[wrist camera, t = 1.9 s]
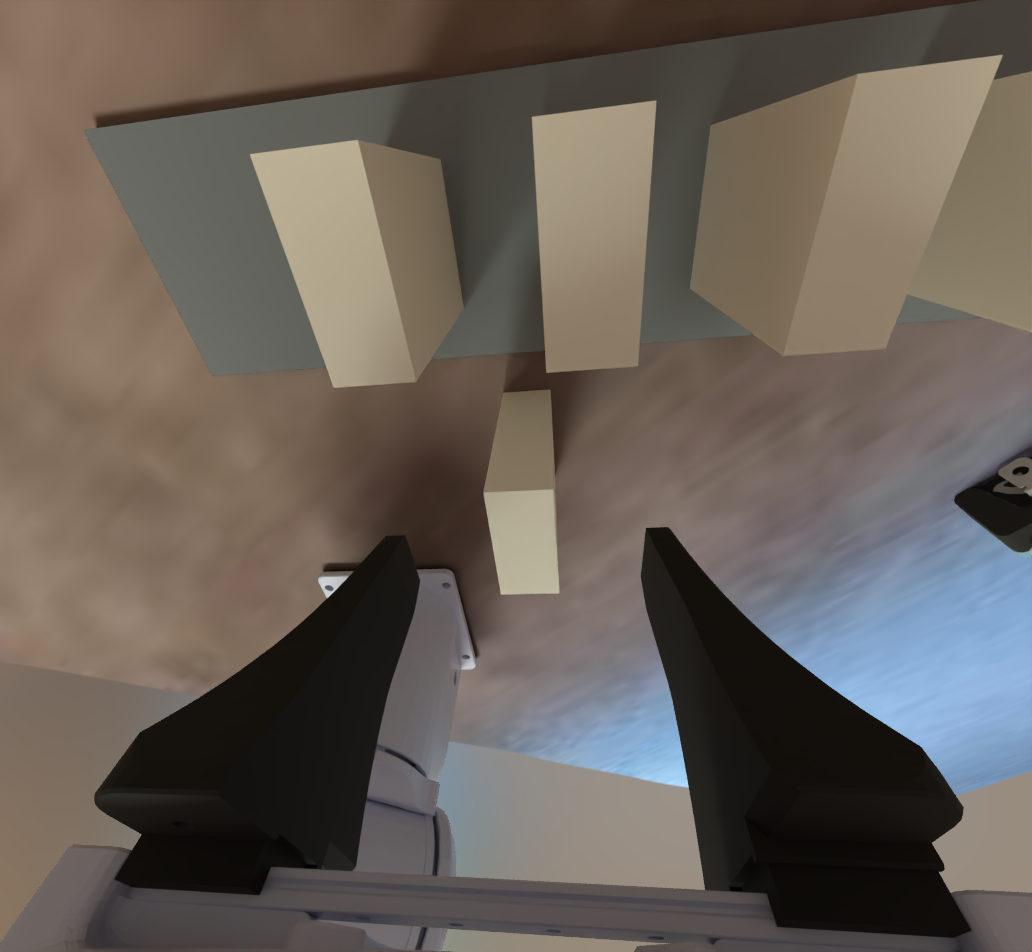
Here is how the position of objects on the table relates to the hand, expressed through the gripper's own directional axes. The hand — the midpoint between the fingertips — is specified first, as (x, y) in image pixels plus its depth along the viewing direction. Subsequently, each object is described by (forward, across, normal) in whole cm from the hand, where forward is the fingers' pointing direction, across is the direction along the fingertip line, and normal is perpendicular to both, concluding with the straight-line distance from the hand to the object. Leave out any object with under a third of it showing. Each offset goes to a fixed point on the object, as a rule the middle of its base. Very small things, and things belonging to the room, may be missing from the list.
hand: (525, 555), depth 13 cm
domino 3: (+7, -2, -8) cm, 11 cm away
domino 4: (+7, -7, -8) cm, 13 cm away
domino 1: (+7, +3, -8) cm, 11 cm away
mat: (+7, -2, -8) cm, 11 cm away
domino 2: (+7, 0, 0) cm, 7 cm away
